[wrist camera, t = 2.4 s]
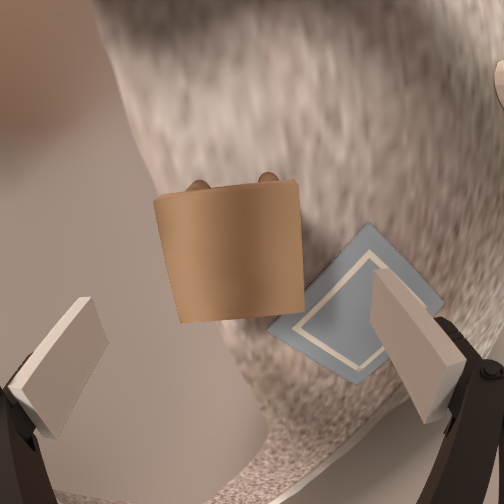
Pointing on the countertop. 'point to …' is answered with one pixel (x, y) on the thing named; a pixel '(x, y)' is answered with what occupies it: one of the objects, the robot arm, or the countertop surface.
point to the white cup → (499, 81)
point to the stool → (233, 249)
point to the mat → (350, 308)
